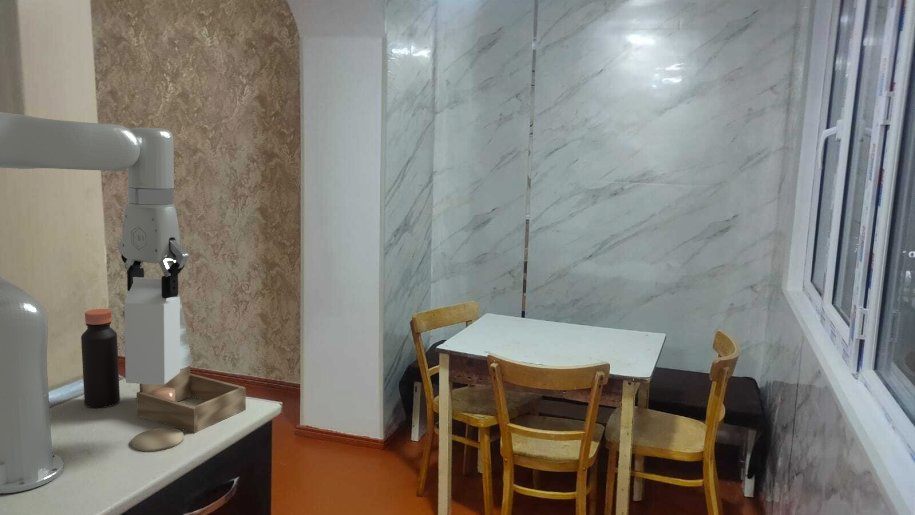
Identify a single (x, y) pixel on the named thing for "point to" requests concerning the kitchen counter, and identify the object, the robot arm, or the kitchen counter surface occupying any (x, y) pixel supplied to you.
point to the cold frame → (190, 395)
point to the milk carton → (151, 333)
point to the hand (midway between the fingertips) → (152, 293)
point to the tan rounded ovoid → (165, 393)
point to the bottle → (100, 360)
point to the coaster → (157, 439)
